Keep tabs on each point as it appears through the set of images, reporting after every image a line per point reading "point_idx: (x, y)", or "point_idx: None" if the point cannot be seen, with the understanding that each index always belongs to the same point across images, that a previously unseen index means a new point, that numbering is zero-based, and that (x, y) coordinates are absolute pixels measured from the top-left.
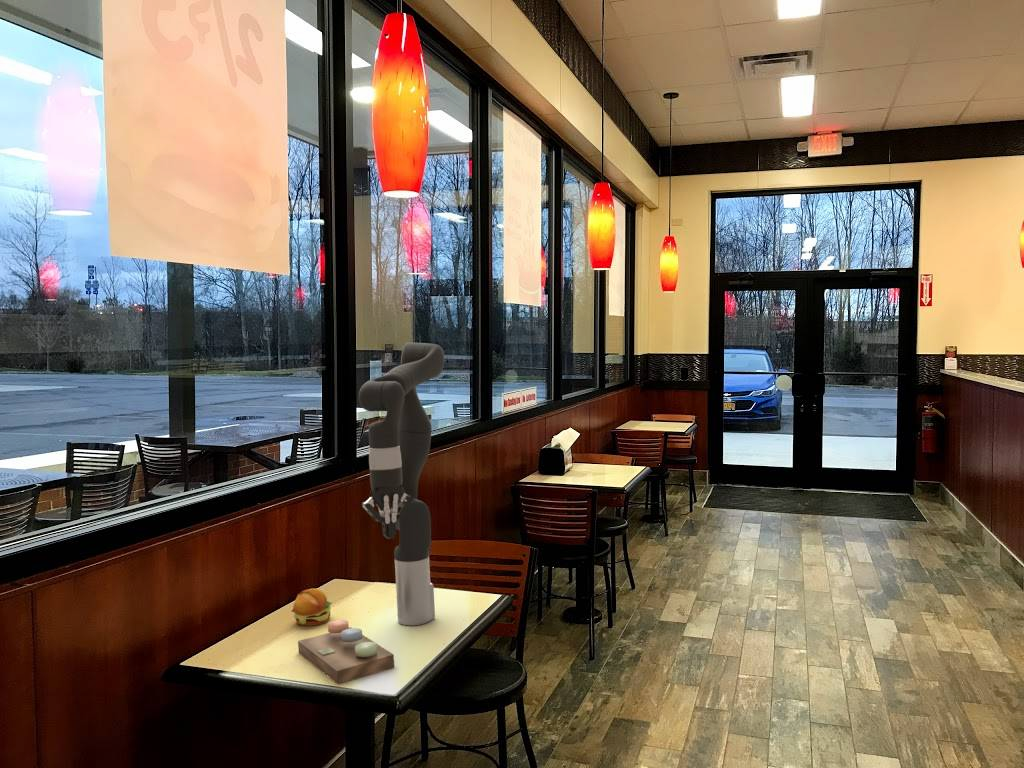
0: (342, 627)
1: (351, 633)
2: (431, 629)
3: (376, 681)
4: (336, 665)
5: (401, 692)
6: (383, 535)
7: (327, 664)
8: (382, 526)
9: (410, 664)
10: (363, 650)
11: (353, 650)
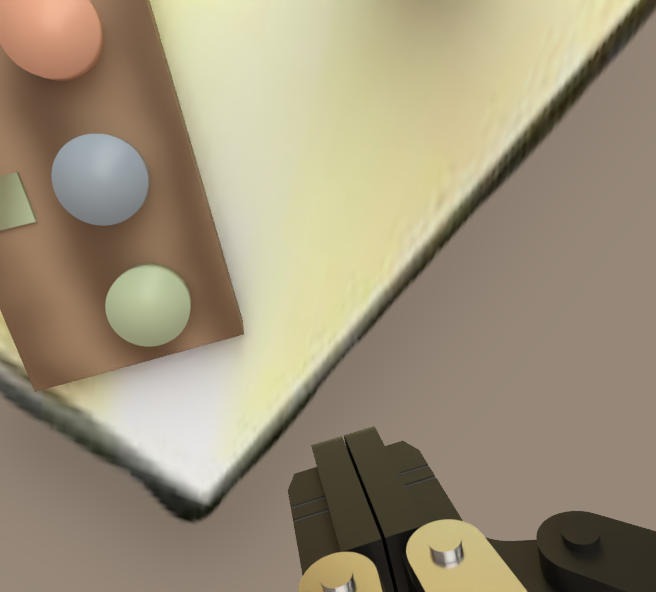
0: (67, 77)
1: (98, 200)
2: (450, 34)
3: (170, 399)
4: (36, 345)
5: (225, 491)
6: (293, 479)
7: (4, 314)
8: (300, 553)
9: (294, 320)
10: (133, 343)
11: (110, 233)
